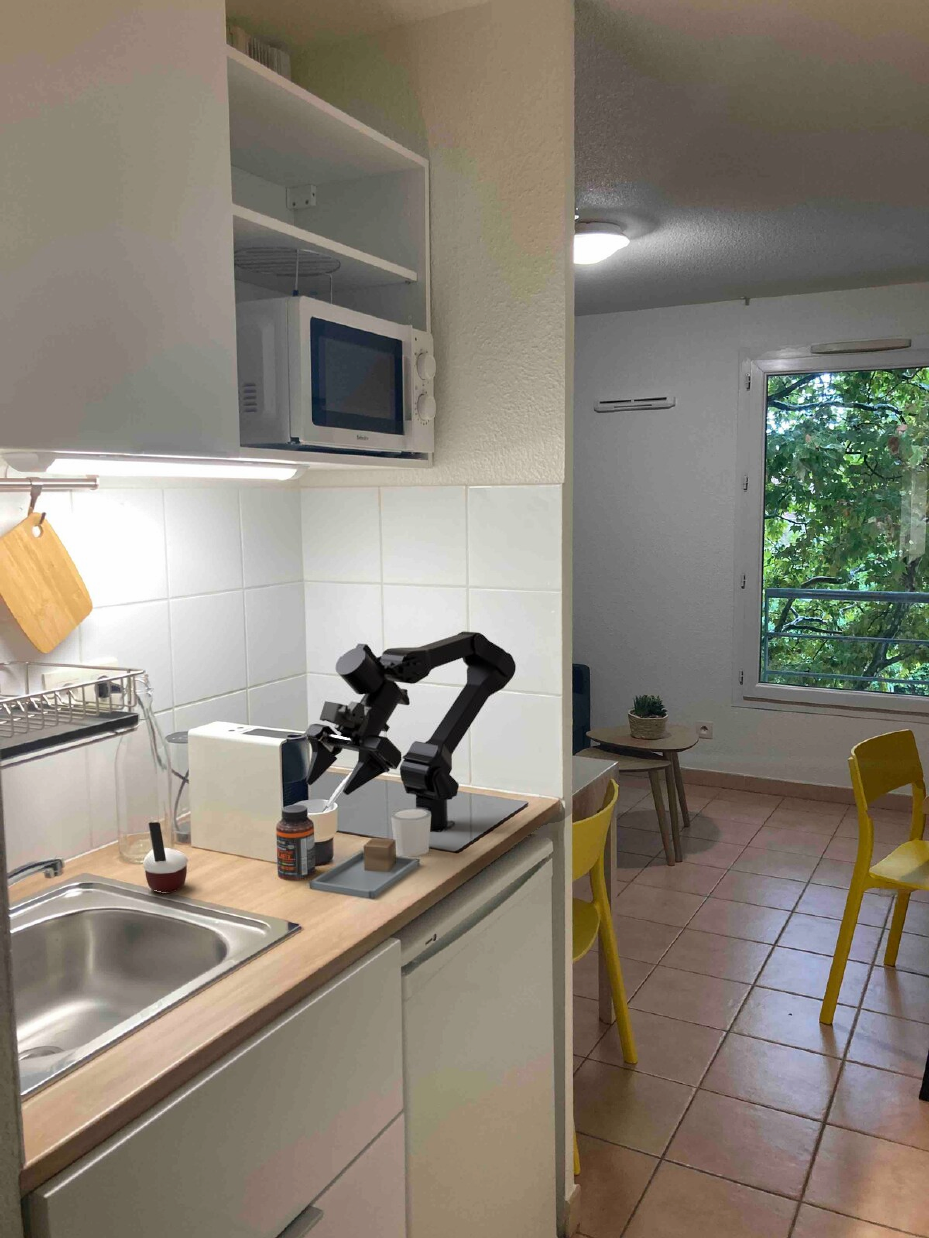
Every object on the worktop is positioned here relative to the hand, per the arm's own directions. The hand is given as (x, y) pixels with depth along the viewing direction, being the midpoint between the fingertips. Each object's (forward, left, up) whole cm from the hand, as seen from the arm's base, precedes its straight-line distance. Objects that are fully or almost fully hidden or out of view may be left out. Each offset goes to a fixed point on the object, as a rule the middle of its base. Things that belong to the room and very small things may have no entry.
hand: (326, 788), depth 161 cm
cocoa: (+18, -18, -13) cm, 29 cm away
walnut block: (-1, +9, -12) cm, 15 cm away
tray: (+3, +9, -13) cm, 16 cm away
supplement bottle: (+6, -2, -13) cm, 15 cm away
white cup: (-10, +10, -13) cm, 19 cm away
